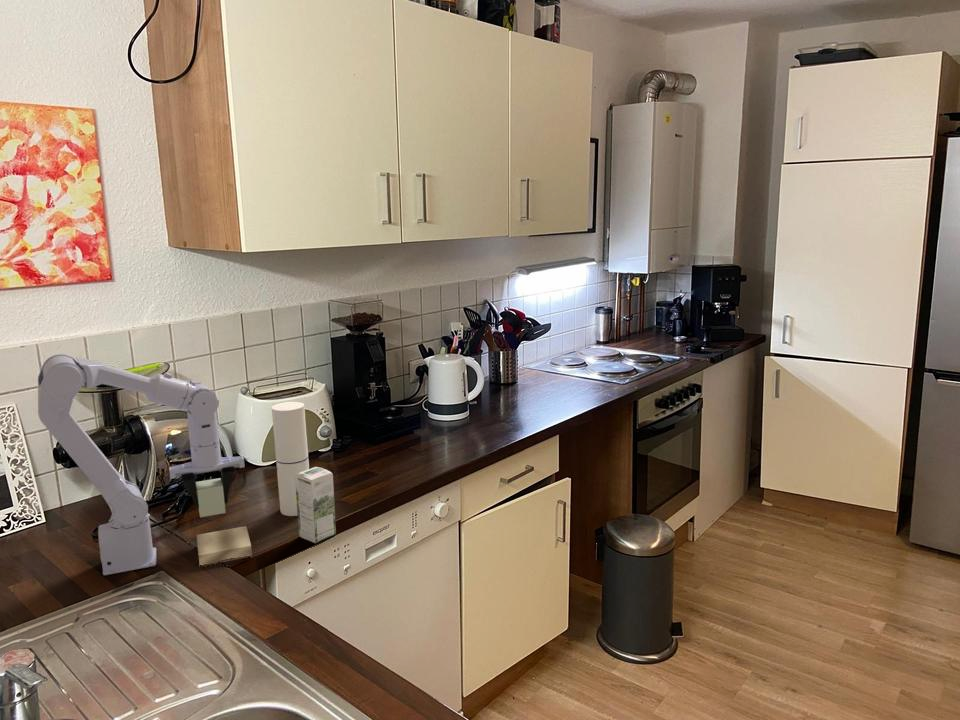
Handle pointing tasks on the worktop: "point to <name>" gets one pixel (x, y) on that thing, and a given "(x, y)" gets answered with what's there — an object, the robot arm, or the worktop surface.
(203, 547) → the birch base
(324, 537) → the syrup box
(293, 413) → the cylindrical container
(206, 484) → the sage block
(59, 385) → the robot arm
